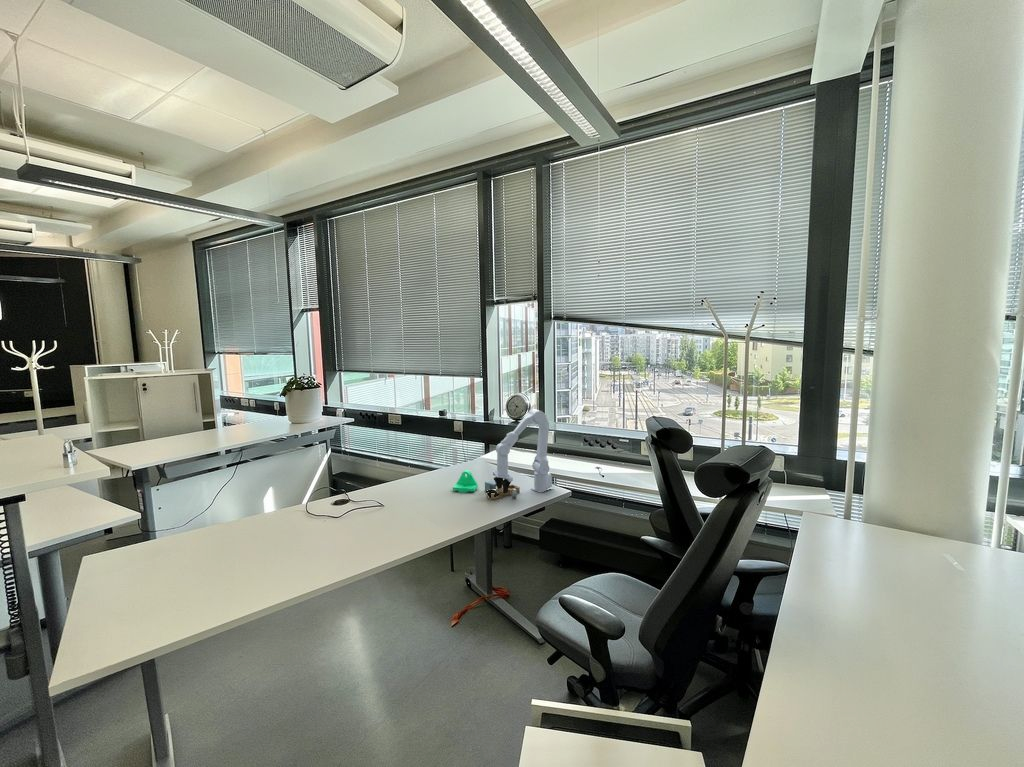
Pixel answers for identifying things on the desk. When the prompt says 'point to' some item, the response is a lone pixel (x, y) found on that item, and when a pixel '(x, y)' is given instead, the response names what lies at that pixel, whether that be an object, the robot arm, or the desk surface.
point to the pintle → (514, 493)
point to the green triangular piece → (466, 483)
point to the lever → (501, 494)
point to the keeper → (490, 485)
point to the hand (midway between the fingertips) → (502, 491)
